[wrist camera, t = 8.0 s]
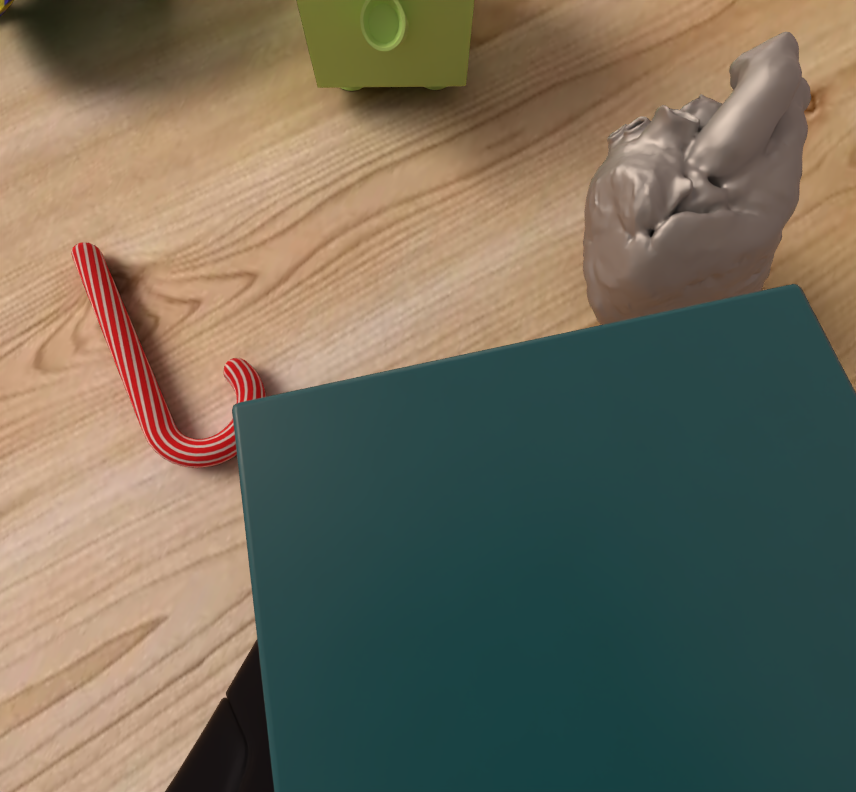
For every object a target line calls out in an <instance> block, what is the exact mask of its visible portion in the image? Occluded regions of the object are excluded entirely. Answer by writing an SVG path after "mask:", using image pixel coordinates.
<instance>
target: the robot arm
mask: <svg viewBox="0 0 856 792" xmlns="http://www.w3.org/2000/svg"><path fill="white" fill-rule="evenodd" d="M226 696H227V698H228V699H227V698H223V699H222V700H221V701H220V703H219V705H218V706H217V708H216V710H215V712H214V713H213V715H212V717H211V718H210V720H209V722H208V724H207V725H206V727H205V729H204V730H203V732H202V733H201V735H200V737H199V738H198V740H197V742H196V743H195V745H194V747H193V748H192V750H191V751H190V753H189V755H188V756H187V758H186V760H185V761H184V763H183V764H182V766H181V768H180V769H179V771H178V773H177V774H176V776H175V777H174V779H173V780H172V782H171V783H170V785H169V786H168V788H167V789H166V791H165V792H274V784H273V775H272V766H271V757H270V748H269V739H268V730H267V721H266V712H265V703H264V694H263V685H262V676H261V667H260V658H259V648H258V639H257V640H256V642H255V644H254V645H253V647H252V649H251V650H250V652H249V654H248V656H247V657H246V659H245V661H244V662H243V664H242V666H241V668H240V669H239V671H238V673H237V674H236V676H235V678H234V680H233V681H232V683H231V685H230V686H229V688H228V690H227V692H226Z"/></svg>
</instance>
